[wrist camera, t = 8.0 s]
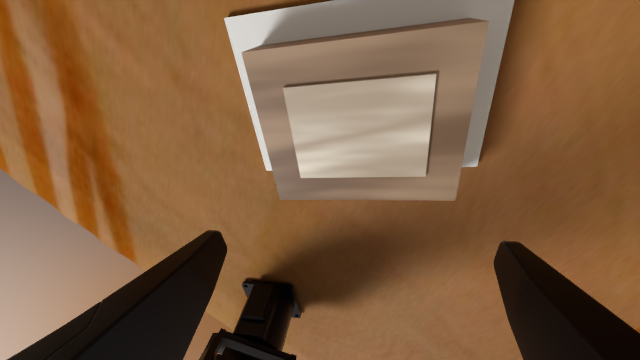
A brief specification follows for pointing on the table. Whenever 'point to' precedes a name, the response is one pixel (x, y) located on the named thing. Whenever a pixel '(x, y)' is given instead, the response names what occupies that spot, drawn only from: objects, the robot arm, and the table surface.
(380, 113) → the walnut slab
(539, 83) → the table surface
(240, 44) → the mat
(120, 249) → the table surface
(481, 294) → the table surface
